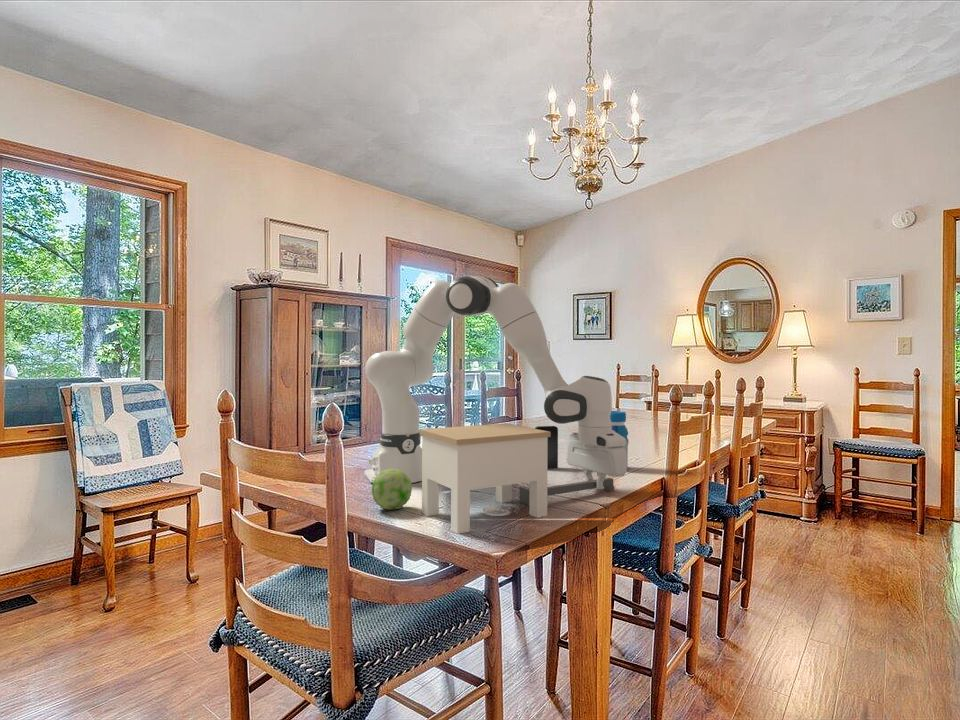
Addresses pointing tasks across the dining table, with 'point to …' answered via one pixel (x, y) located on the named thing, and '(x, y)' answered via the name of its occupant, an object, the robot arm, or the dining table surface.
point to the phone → (551, 446)
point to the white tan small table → (483, 466)
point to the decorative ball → (391, 489)
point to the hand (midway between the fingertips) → (594, 487)
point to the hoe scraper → (567, 488)
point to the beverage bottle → (620, 427)
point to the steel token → (497, 510)
